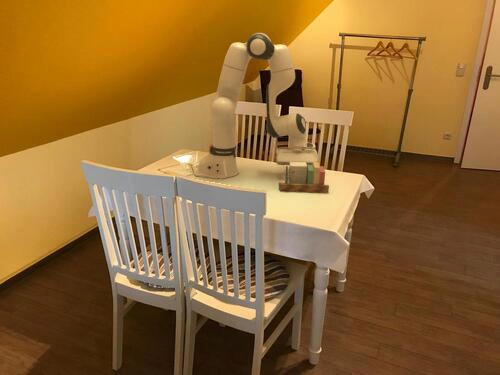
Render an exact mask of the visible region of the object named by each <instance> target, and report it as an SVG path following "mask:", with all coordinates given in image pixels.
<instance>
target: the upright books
mask: <svg viewBox="0 0 500 375" xmlns="http://www.w3.org/2000/svg"><path fill="white" fill-rule="evenodd" d="M325 177H326V170H325V167H324V166H323V165H320V163H319V161H318V162H313V165H307V176H306V184H319V185H325V182H326V181H325V179H326V178H325Z"/></svg>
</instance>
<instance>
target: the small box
mask: <svg viewBox="0 0 500 375" xmlns="http://www.w3.org/2000/svg"><path fill="white" fill-rule="evenodd" d="M306 176H307V164H306V162H290V165H288V183H290V184H306Z"/></svg>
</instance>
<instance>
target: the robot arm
mask: <svg viewBox="0 0 500 375" xmlns="http://www.w3.org/2000/svg"><path fill="white" fill-rule="evenodd" d="M251 59H256V60H264V61H265V60H266V61H267V62H268V65H269V66H268V67H269V72H270V81H269V83H267V85H266V90H265V95H266V96H265V102H266V106H265V107H266V127H265V128H266V133H267V134H268V136H270V137H272V138H273V139H276V138H281V137H284V136H288V142H287V143H288V144H287V145H288V146H279V147H277V148H276V149H275V154H276V164H277V165H278V166H289V165H290V162H306V164H307V165H313V162H318V163H319V155H318V150H316V144H314V143H312V142H309V141H307V140H306V136H307V122H306V119H305V117H304V116H302V115H301V114H300V113H289V114H286V115H277V114H276V113H277V112H276V111H277V110H276V106H277V105H276V100H277V96H279V95H280V94H281V93H282V92H284V91H286V90H288V88H290V87H291V86H292V85H293V84H294V82H295V80H296V72H295V65H294V61H293V57H292V54H291V51H290V49H289V47H288V46H287V45H285V44H273V42H272V40H271V38H270V37H269V36H268V35H267V34H266V33H264V32H256V33H253V34H252V35H251V36H249V38H248V39H247V41H246V42H245V43H243V42H238V41H237V42H233V43H231V45H230V46H229V48H228V49H227V51H226V54H225V57H224V61H223V63H222V68H221V71H220V76H219V78H218V85H217V89H216V94H215V98H214V101H213V102H212V104H211V107H210V111H211V112H210V113H211V114H210V115H211V124H212V143H210V145H209V149H208V151H209V152H208V153H207V154H206V155H204V156H203V157H202V158H201V159H200V160H199V163H198V166H197V167H198V168H197V167H196V168H197V169H196V168H195V169H194V171H193V175H194V176H195V177H200V178H201V177H202V178H208V179H209V178H210V179H218V178H219V179H220V180H223V179H228V178H231V177H232V178H233V177H235V176H237V175H239V169H238V165H237V164H238V163H237V145H236V120H235V119H236V118H235V113H236V109H237V105H238V101H239V98H240V94H241V91H242V87H243V84H244V79H245V77H246V76H245V75H246V73H247V69H248V65H249V63H250V61H251Z"/></svg>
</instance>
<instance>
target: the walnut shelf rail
mask: <svg viewBox="0 0 500 375" xmlns="http://www.w3.org/2000/svg"><path fill="white" fill-rule="evenodd" d="M279 183H280V190H279V192H280V193H281V192H285V193H288V192H289V193H311V194H313V193H315V194H329V189H330V186H329V184H324V185H319V184H290V183H289V182H288V183H285V182H279Z"/></svg>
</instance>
